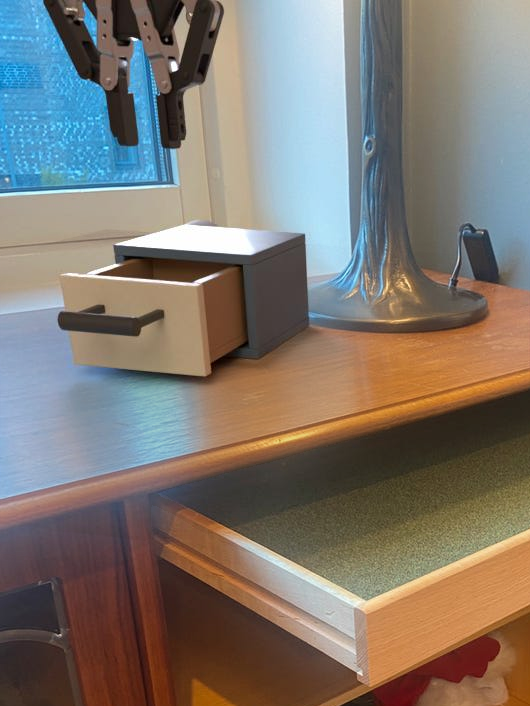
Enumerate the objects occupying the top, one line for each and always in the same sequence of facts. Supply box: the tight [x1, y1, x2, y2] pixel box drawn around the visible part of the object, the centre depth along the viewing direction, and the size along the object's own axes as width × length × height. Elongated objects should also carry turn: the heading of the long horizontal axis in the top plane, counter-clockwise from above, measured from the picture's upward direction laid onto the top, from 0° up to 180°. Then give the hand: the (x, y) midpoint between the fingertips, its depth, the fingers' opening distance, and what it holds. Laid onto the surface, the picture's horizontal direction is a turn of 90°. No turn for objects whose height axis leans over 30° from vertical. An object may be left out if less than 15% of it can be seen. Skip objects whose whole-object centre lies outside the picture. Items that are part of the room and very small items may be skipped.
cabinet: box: [112, 224, 310, 360], centre depth 92 cm, size 15×13×9 cm
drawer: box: [57, 257, 248, 377], centre depth 80 cm, size 19×12×7 cm, turn 171°
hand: (149, 145), depth 76 cm, fingers open, 3 cm apart
